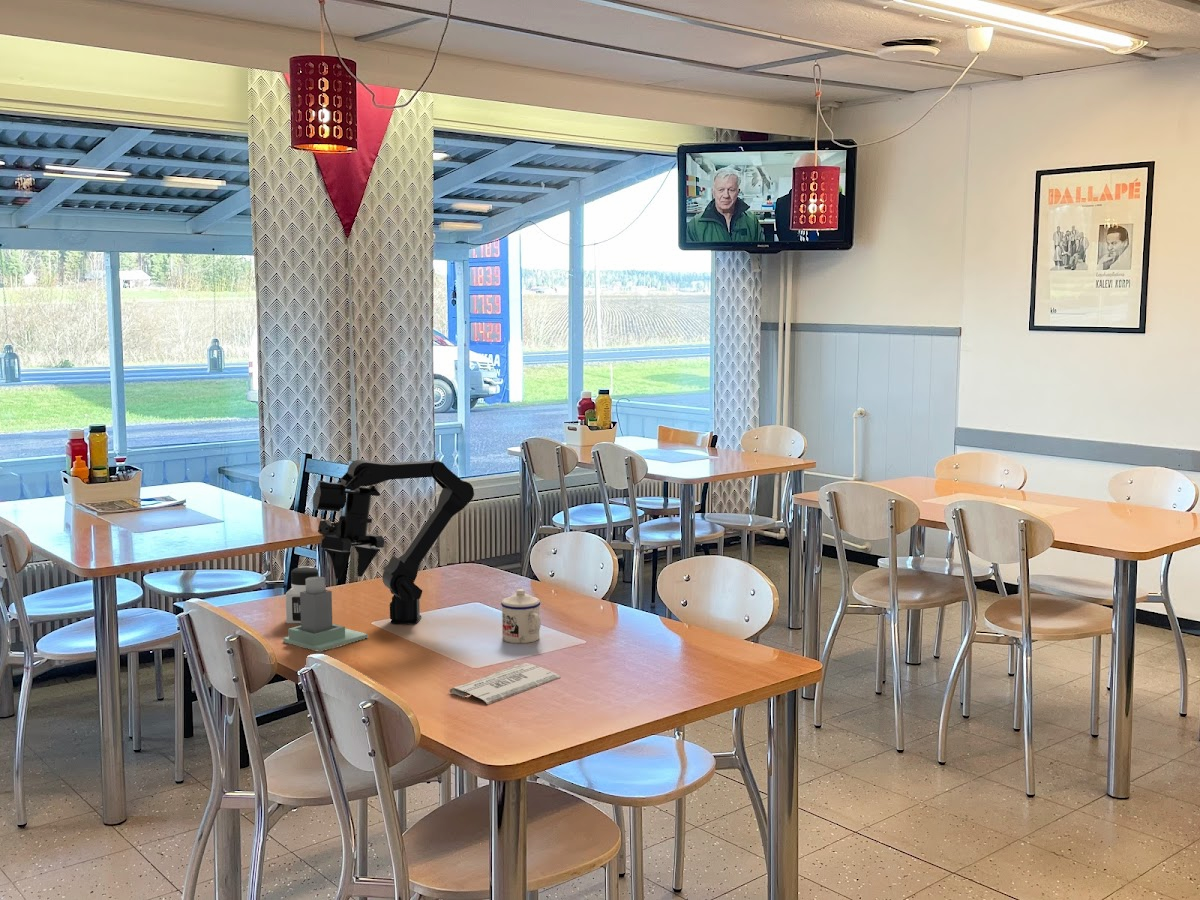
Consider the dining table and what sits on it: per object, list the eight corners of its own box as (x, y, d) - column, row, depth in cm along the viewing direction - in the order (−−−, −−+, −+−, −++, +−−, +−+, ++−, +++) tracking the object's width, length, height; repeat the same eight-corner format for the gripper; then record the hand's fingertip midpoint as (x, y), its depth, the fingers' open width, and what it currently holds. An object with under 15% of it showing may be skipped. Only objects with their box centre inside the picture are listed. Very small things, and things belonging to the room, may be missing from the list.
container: (317, 623, 283) (316, 571, 282) (286, 623, 283) (284, 571, 282) (325, 615, 291) (324, 564, 289) (294, 615, 291) (293, 564, 289)
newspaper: (517, 669, 250) (518, 658, 250) (559, 686, 243) (560, 674, 242) (439, 695, 233) (440, 683, 232) (482, 714, 225) (483, 702, 225)
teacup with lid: (493, 637, 272) (493, 589, 270) (526, 631, 277) (525, 583, 276) (522, 649, 262) (522, 599, 261) (555, 642, 268) (555, 593, 266)
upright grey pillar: (318, 634, 271) (317, 575, 269) (332, 637, 268) (331, 578, 266) (301, 638, 267) (299, 579, 265) (315, 642, 264) (313, 582, 262)
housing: (331, 628, 279) (331, 614, 278) (367, 638, 271) (367, 623, 270) (283, 641, 268) (283, 627, 267) (319, 652, 260) (319, 636, 259)
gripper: (350, 507, 289) (343, 569, 289) (305, 508, 271) (297, 574, 271) (388, 514, 284) (381, 577, 285) (345, 515, 267) (337, 582, 267)
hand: (349, 577), depth 277 cm, fingers open, 9 cm apart
